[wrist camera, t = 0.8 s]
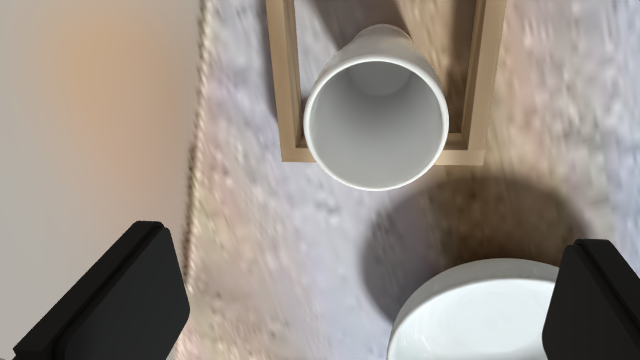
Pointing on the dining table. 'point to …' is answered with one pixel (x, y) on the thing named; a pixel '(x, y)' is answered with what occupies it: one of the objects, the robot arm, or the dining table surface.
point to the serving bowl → (477, 313)
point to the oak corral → (477, 96)
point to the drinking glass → (377, 112)
